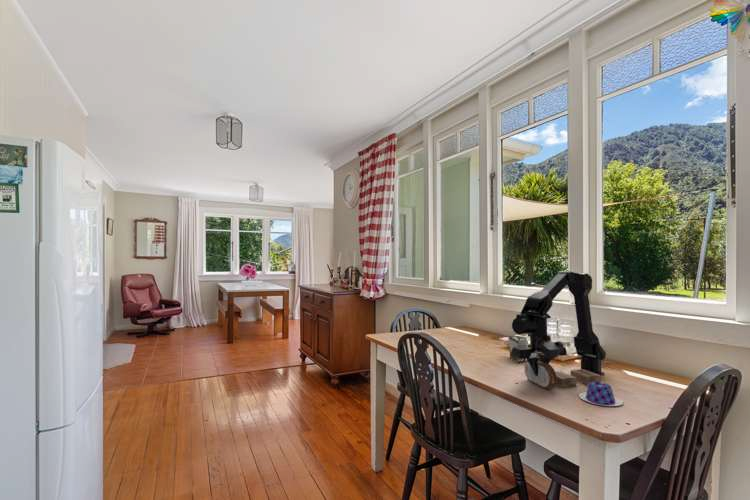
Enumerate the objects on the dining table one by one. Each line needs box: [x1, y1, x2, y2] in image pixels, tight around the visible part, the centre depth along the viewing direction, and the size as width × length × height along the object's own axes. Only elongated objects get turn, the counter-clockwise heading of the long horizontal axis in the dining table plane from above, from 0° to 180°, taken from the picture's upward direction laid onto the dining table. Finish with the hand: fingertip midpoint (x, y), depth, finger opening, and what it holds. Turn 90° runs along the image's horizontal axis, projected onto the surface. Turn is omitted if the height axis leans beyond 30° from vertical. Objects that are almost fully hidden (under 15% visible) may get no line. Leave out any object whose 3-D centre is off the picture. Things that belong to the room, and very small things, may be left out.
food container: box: [508, 334, 529, 364], centre depth 164 cm, size 12×6×10 cm, turn 179°
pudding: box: [578, 381, 624, 407], centre depth 117 cm, size 12×12×5 cm
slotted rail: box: [555, 368, 602, 388], centre depth 134 cm, size 16×8×3 cm, turn 102°
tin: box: [524, 359, 557, 390], centre depth 131 cm, size 15×3×8 cm, turn 12°
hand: (539, 375), depth 131 cm, fingers open, 2 cm apart
